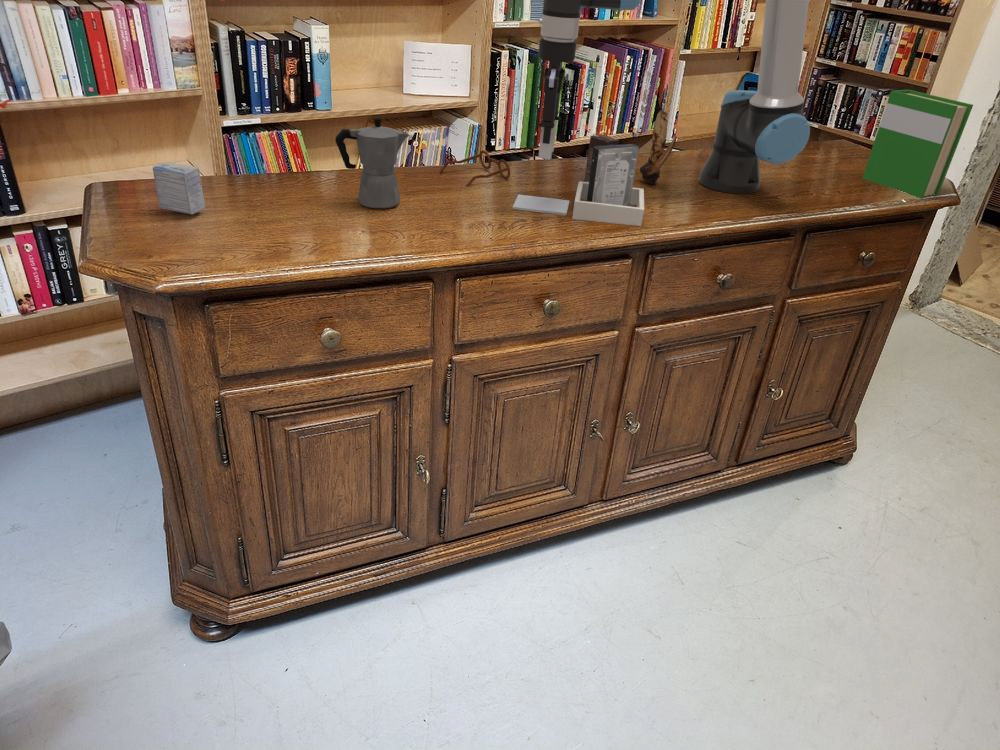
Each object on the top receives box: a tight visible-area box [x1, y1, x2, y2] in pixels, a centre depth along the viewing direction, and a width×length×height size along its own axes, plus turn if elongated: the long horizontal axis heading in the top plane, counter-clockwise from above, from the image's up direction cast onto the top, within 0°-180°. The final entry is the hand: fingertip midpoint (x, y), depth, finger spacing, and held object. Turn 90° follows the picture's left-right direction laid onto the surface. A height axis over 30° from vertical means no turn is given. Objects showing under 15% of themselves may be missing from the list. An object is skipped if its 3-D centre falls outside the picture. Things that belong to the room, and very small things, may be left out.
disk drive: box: [586, 143, 639, 207], centre depth 164 cm, size 10×3×15 cm, turn 114°
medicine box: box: [152, 161, 206, 215], centre depth 149 cm, size 8×4×9 cm, turn 71°
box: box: [583, 134, 620, 182], centre depth 180 cm, size 6×4×12 cm
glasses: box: [438, 149, 511, 188], centre depth 183 cm, size 13×13×5 cm
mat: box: [512, 194, 570, 216], centre depth 168 cm, size 12×9×1 cm
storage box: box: [572, 180, 645, 227], centre depth 167 cm, size 15×15×4 cm
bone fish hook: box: [639, 110, 677, 185], centre depth 182 cm, size 9×5×18 cm, turn 14°
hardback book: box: [861, 89, 974, 200], centre depth 192 cm, size 18×7×24 cm, turn 30°
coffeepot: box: [335, 116, 410, 209], centre depth 158 cm, size 15×9×18 cm, turn 107°
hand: (546, 154), depth 162 cm, fingers open, 5 cm apart
